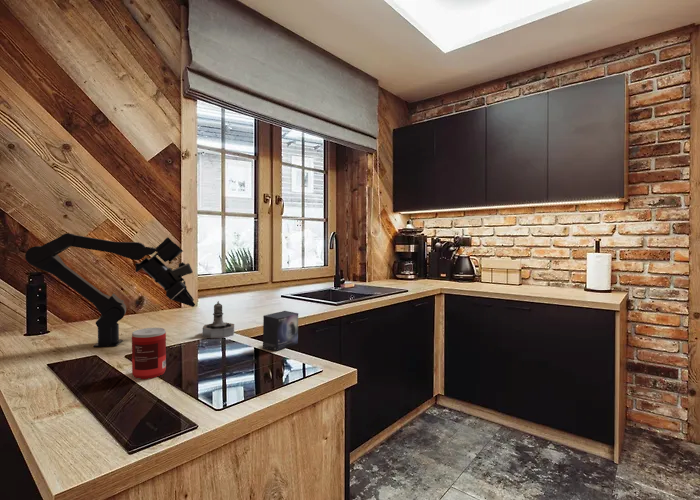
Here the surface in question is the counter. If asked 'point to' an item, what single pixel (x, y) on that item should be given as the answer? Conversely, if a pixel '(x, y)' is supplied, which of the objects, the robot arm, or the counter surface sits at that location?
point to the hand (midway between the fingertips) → (193, 303)
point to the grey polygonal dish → (218, 331)
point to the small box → (280, 330)
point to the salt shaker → (218, 317)
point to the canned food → (148, 352)
